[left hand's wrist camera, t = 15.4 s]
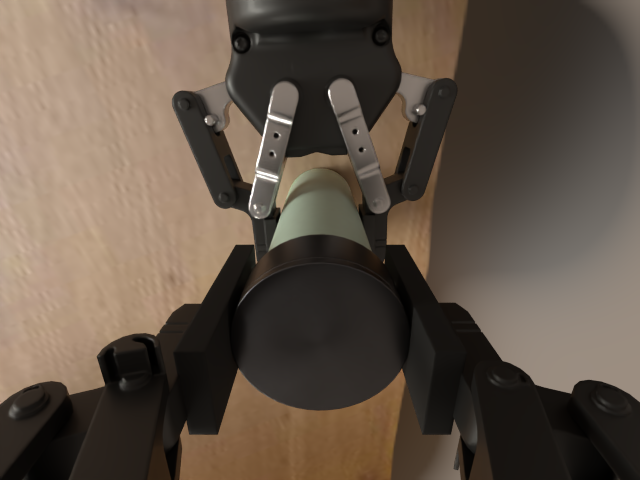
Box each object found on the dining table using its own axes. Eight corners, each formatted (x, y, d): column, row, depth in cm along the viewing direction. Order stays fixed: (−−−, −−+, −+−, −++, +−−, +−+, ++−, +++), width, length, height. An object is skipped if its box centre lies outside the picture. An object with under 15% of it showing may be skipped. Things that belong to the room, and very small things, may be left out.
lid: (423, 317, 13) (443, 359, 11) (305, 385, 14) (303, 434, 12) (338, 201, 11) (343, 224, 9) (212, 289, 12) (190, 328, 10)
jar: (299, 237, 27) (274, 400, 12) (279, 178, 25) (222, 287, 10) (358, 220, 26) (407, 370, 12) (342, 159, 24) (375, 245, 10)
